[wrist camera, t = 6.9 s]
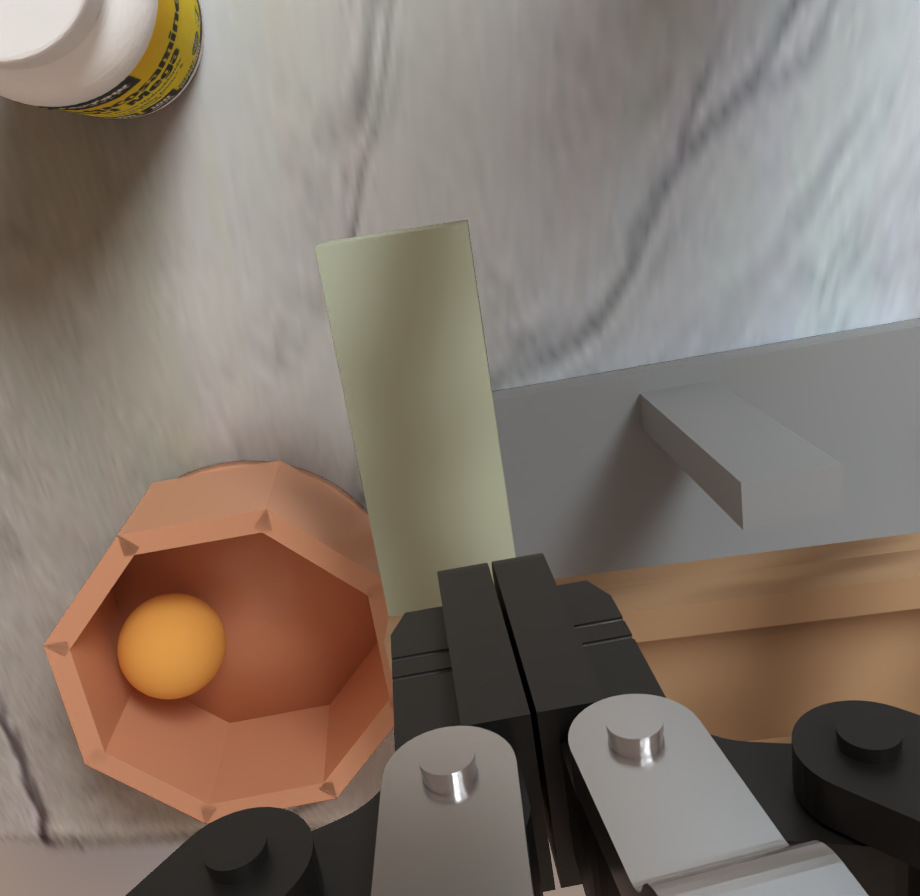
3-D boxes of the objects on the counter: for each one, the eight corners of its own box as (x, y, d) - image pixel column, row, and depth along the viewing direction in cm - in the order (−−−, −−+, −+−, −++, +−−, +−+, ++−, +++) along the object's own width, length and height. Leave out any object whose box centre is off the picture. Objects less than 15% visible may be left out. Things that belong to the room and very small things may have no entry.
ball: (232, 589, 33) (179, 566, 36) (135, 639, 31) (85, 610, 33) (256, 679, 35) (203, 650, 37) (164, 734, 32) (115, 699, 35)
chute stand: (928, 316, 36) (1162, 382, 25) (921, 616, 40) (1117, 778, 30) (396, 408, 35) (406, 516, 24) (450, 704, 39) (478, 904, 29)
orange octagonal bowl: (69, 489, 35) (11, 553, 29) (371, 436, 35) (370, 490, 30) (149, 740, 39) (111, 841, 33) (420, 690, 39) (428, 780, 33)
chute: (1188, 103, 24) (1339, 94, 20) (1125, 663, 30) (1232, 749, 26) (332, 235, 26) (304, 254, 22) (431, 743, 32) (424, 836, 27)
